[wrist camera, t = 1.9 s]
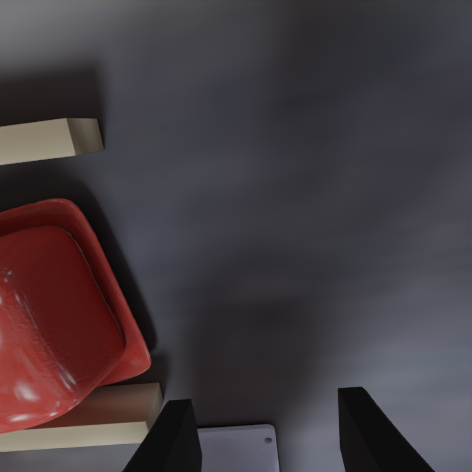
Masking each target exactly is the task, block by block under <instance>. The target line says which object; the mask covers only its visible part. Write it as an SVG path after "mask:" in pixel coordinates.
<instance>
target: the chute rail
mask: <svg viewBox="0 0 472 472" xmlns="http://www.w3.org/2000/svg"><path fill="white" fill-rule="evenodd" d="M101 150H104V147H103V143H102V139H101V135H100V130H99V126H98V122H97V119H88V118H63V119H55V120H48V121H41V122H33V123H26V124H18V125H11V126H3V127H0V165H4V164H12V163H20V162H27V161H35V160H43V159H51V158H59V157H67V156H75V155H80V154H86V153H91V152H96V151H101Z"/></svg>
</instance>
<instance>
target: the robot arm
mask: <svg viewBox="0 0 472 472" xmlns="http://www.w3.org/2000/svg"><path fill="white" fill-rule="evenodd" d="M338 407H339V436H340V450H341V454H342V458H343V463H344V467H345V471H346V472H435V471H434V470H433V469H432V468H431V467H430V466H429V465H428V463H427V462H426V461H425V460H424V459H423V458H422V457H421V456H420V455H419V454H418V452H417V451H416V450H415V449H414V448H413V447H412V446H411V445H410V444H409V442H408V441H407V440H406V439H405V438H404V437H403V436H402V434H401V433H400V432H399V431H398V430H397V428H396V427H395V426H394V425H393V424H392V423H391V421H390V420H389V419H388V418H387V416H386V415H385V414H384V413H383V412H382V410H381V409H380V408H379V407H378V405H377V404H376V403H375V401H374V400H373V399H372V398H371V396H370V395H369V394H368V392H367V391H366V390H365V389H364V388H363V387H349V388H338ZM122 472H280V471H279V462H278V453H277V444H276V435H275V429H274V427H273V426H272V425H269V424H263V425H248V426H233V427H218V428H203V429H197V426H196V421H195V416H194V411H193V406H192V401H191V399H184V400H170V401H168V402H167V403H166V405H165V406H164V408H163V410H162V411H161V413H160V414H159V416H158V418H157V419H156V421H155V423H154V424H153V426H152V427H151V429H150V431H149V432H148V434H147V435H146V437H145V438H144V440H143V441H142V443H141V445H140V446H139V448H138V449H137V451H136V452H135V454H134V455H133V457H132V458H131V460H130V461H129V462H128V464H127V465H126V467H125V468H124V470H123V471H122Z"/></svg>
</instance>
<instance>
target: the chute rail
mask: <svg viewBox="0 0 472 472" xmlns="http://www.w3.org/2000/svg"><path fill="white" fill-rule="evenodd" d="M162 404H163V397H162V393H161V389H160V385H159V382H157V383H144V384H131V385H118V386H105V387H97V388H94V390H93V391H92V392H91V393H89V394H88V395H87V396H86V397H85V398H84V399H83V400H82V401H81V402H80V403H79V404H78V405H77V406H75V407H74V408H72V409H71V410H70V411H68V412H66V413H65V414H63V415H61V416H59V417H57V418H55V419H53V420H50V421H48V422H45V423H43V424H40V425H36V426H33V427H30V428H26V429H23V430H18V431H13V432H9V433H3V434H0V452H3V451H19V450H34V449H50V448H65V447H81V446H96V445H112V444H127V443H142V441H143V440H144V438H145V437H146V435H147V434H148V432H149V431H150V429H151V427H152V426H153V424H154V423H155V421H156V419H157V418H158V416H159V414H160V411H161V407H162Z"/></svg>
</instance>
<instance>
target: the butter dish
mask: <svg viewBox="0 0 472 472" xmlns="http://www.w3.org/2000/svg"><path fill="white" fill-rule="evenodd" d="M150 366H151V357H150V353H149V350H148V348H147V345H146V342H145V340H144V337H143V335H142V333H141V332H140V329H139V327H138V325H137V323H136V321H135V319H134V317H133V314H132V312H131V310H130V308H129V306H128V304H127V301H126V299H125V297H124V295H123V293H122V291H121V289H120V287H119V285H118V281H117V279H116V277H115V275H114V273H113V271H112V269H111V266H110V264H109V262H108V260H107V258H106V256H105V254H104V252H103V249H102V247H101V245H100V243H99V241H98V239H97V236H96V234H95V233H94V231H93V229H92V228H91V226H90V224H89V222H88V220H87V219H86V217H85V215H84V214H83V213H82V211H81V210H80V208H79V207H78V206H77V205H76V204H75V203H73V202H72V201H70V200H68V199H62V198H53V199H47V200H43V201H38V202H37V203H29V204H26V205H23V206H20V207H17V208H14V209H10V210H7V211H4V212H1V213H0V434H3V433H9V432H13V431H18V430H23V429H26V428H30V427H33V426H36V425H40V424H43V423H45V422H48V421H50V420H53V419H55V418H57V417H59V416H61V415H63V414H65V413H66V412H68V411H70V410H71V409H72V408H74V407H75V406H77V405H78V404H79V403H80V402H81V401H82V400H83V399H84V398H85V397H86V396H87V395H88V394H89V393H91V392H92V391H93V390H94V388H97V387H101V386H105V385H109V384H113V383H117V382H120V381H124V380H127V379H130V378H133V377H135V376H138V375H140V374H142V373H144V372H145V371H147V370H148V369H149V368H150Z"/></svg>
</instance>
